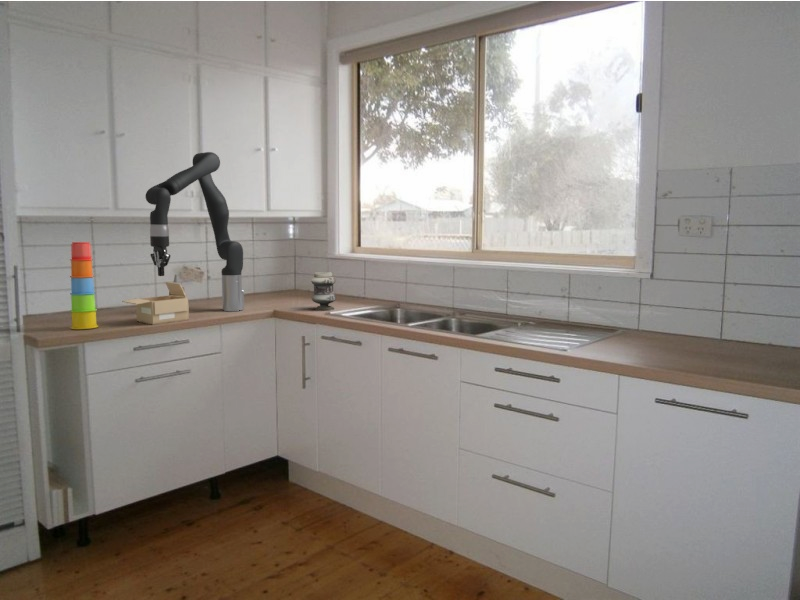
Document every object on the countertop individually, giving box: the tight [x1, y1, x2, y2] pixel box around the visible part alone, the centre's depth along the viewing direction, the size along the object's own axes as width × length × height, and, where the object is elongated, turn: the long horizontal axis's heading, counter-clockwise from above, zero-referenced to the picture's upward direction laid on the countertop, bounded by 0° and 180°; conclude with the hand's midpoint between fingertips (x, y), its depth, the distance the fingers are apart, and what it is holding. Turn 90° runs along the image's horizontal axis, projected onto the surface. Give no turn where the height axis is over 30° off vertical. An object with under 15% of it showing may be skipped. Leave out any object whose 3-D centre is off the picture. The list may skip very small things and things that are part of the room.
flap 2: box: [164, 281, 187, 297], centre depth 280 cm, size 1×12×6 cm, turn 49°
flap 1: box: [121, 298, 150, 305], centre depth 267 cm, size 1×12×6 cm
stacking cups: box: [69, 241, 99, 330], centre depth 256 cm, size 10×10×35 cm
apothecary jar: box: [310, 271, 337, 311], centre depth 312 cm, size 12×12×18 cm
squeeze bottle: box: [168, 274, 186, 297], centre depth 299 cm, size 8×8×18 cm
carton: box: [135, 295, 190, 326], centre depth 276 cm, size 17×15×10 cm
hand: (161, 275), depth 274 cm, fingers closed
